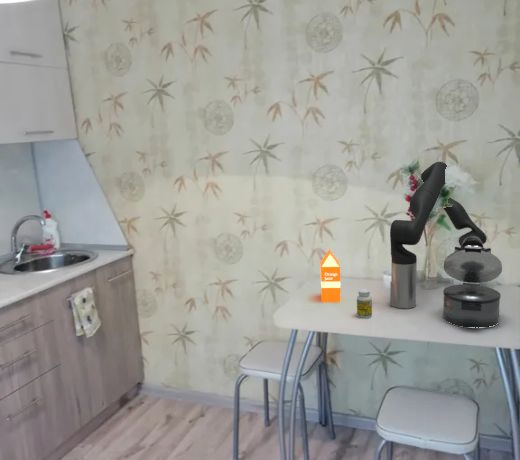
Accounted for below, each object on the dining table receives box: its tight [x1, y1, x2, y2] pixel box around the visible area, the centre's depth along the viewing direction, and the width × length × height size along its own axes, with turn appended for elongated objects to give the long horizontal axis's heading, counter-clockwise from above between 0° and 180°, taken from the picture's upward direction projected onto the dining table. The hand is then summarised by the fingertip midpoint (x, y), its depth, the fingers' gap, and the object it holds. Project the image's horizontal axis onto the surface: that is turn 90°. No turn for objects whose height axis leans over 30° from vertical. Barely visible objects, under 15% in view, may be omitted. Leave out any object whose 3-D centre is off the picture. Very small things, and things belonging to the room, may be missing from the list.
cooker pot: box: [442, 282, 502, 328], centre depth 175 cm, size 18×22×10 cm
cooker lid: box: [443, 246, 503, 284], centre depth 176 cm, size 19×21×4 cm
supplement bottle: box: [356, 288, 373, 319], centre depth 183 cm, size 5×5×10 cm
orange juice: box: [320, 248, 342, 303], centre depth 203 cm, size 8×9×20 cm
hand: (472, 255), depth 175 cm, fingers closed
